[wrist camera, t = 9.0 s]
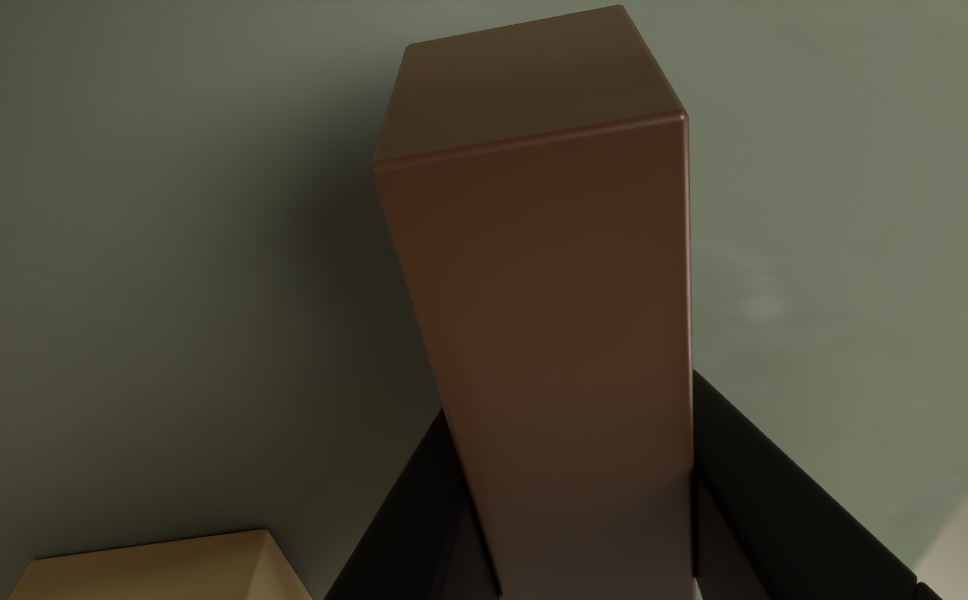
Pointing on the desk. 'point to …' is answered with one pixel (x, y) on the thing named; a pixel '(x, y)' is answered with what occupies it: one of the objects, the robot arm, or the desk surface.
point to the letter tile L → (169, 572)
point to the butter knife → (554, 295)
